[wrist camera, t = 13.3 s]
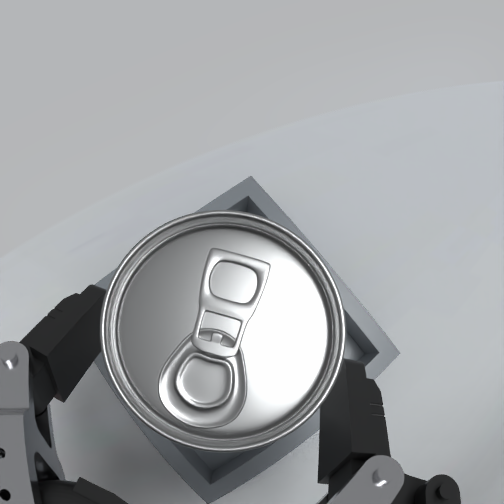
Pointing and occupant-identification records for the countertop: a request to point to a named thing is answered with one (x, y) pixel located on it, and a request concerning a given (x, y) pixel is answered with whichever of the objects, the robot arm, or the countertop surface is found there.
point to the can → (223, 331)
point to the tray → (257, 460)
